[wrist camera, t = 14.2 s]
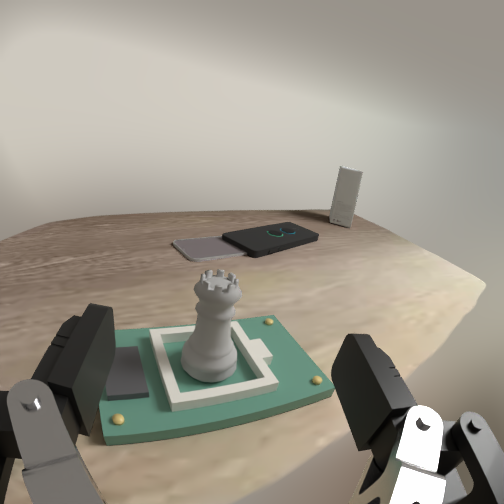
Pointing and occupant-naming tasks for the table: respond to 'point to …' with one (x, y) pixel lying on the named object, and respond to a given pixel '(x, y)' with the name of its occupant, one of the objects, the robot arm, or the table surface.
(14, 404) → the robot arm
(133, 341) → the header board
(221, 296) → the rook chess piece
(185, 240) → the smartphone
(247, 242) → the smart home device
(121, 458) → the table surface
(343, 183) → the skincare box
